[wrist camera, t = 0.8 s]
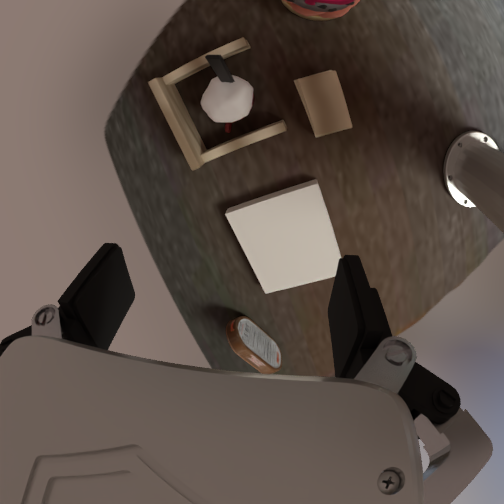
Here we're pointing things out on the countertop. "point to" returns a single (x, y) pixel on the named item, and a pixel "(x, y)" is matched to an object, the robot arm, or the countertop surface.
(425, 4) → the countertop surface
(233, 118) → the cocoa
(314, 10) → the cake
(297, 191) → the cutting board
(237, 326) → the tin
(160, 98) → the frame
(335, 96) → the offcut upper
